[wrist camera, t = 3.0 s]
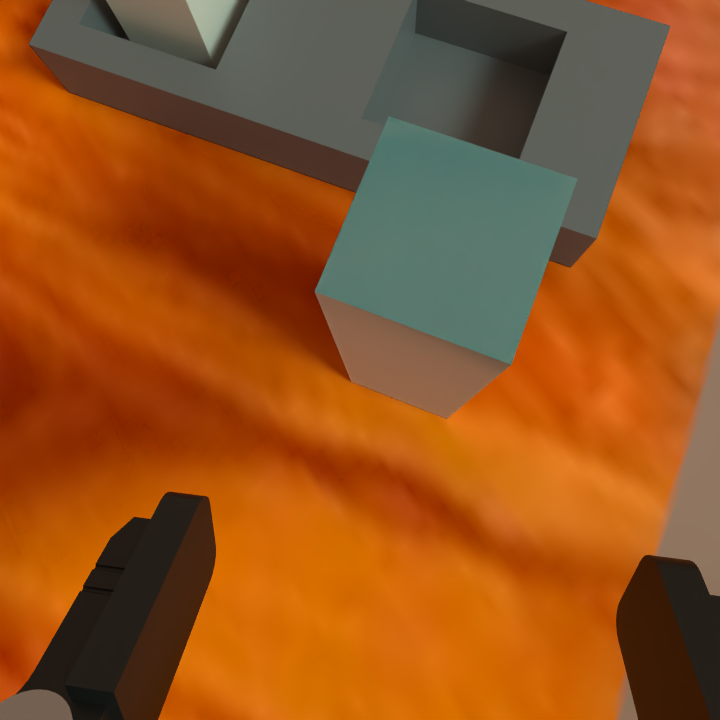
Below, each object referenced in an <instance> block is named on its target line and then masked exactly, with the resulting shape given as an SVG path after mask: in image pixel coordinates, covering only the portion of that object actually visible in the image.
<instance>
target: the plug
mask: <svg viewBox="0 0 720 720" xmlns="http://www.w3.org/2000/svg"><path fill="white" fill-rule="evenodd" d="M576 182H577V178H574V177H571V176H568V175H565V174H561V173H558V172H555V171H552V170H549V169H546V168H543V167H540V166H537V165H534V164H531V163H528V162H525V161H522V160H519V159H516V158H513V157H510V156H507V155H504V154H501V153H498V152H495V151H492V150H489V149H486V148H483V147H480V146H477V145H474V144H471V143H468V142H465V141H462V140H459V139H456V138H453V137H450V136H447V135H444V134H441V133H438V132H435V131H432V130H429V129H426V128H423V127H420V126H417V125H414V124H411V123H408V122H405V121H402V120H399V119H396V118H393V117H390V116H389V117H388V119H387V121H386V124H385V126H384V128H383V131H382V133H381V136H380V138H379V140H378V143H377V145H376V147H375V150H374V152H373V154H372V157H371V159H370V162H369V164H368V166H367V169H366V171H365V173H364V176H363V178H362V181H361V183H360V185H359V188H358V190H357V192H356V195H355V197H354V199H353V202H352V204H351V207H350V209H349V211H348V214H347V216H346V218H345V221H344V223H343V225H342V228H341V230H340V233H339V235H338V237H337V240H336V242H335V244H334V247H333V249H332V252H331V254H330V256H329V259H328V261H327V263H326V266H325V268H324V270H323V273H322V275H321V278H320V280H319V282H318V285H317V287H316V289H315V294H316V296H317V299H318V301H319V304H320V306H321V309H322V311H323V314H324V316H325V319H326V321H327V323H328V326H329V328H330V331H331V333H332V336H333V338H334V341H335V343H336V346H337V348H338V351H339V353H340V355H341V358H342V360H343V363H344V365H345V368H346V370H347V373H348V375H349V378H350V380H351V382H353V383H356V384H358V385H361V386H363V387H366V388H369V389H371V390H374V391H376V392H379V393H381V394H384V395H387V396H389V397H392V398H394V399H397V400H400V401H402V402H405V403H407V404H410V405H412V406H415V407H418V408H420V409H423V410H425V411H428V412H431V413H433V414H436V415H438V416H441V417H444V418H446V419H448V418H449V417H450V416H451V415H452V414H453V413H455V412H456V411H457V410H458V409H459V408H461V407H462V406H463V405H464V404H465V403H466V402H468V401H469V400H470V399H471V398H472V397H474V396H475V395H476V394H477V393H478V392H479V391H481V390H482V389H483V388H484V387H485V386H487V385H488V384H489V383H490V382H491V381H492V380H494V379H495V378H496V377H497V376H498V375H500V374H501V373H502V372H503V371H504V370H505V369H507V368H508V367H509V366H510V365H511V364H512V361H513V358H514V355H515V353H516V350H517V347H518V344H519V341H520V339H521V336H522V333H523V330H524V327H525V325H526V322H527V319H528V316H529V313H530V311H531V308H532V305H533V302H534V300H535V297H536V294H537V291H538V288H539V286H540V283H541V280H542V277H543V274H544V272H545V269H546V266H547V263H548V260H549V258H550V255H551V252H552V249H553V246H554V244H555V241H556V238H557V235H558V232H559V230H560V227H561V224H562V221H563V219H564V216H565V213H566V210H567V207H568V205H569V202H570V199H571V196H572V193H573V191H574V188H575V185H576Z"/></svg>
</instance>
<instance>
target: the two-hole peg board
mask: <svg viewBox="0 0 720 720" xmlns="http://www.w3.org/2000/svg"><path fill="white" fill-rule="evenodd" d="M669 28H670V26H669V25H666V24H662V23H659V22H656V21H652V20H649V19H646V18H642V17H639V16H636V15H632V14H629V13H625V12H622V11H619V10H615V9H612V8H609V7H605V6H602V5H599V4H595V3H592V2H589V1H585V0H52V2H51V4H50V6H49V8H48V9H47V11H46V13H45V15H44V17H43V19H42V21H41V22H40V24H39V26H38V28H37V30H36V32H35V33H34V35H33V37H32V39H31V41H30V43H29V46H30V47H31V48H32V49H33V50H34V51H35V53H36V54H37V55H38V56H39V57H40V59H41V60H42V61H43V62H44V63H45V64H46V66H47V67H48V68H49V69H50V70H51V72H52V73H53V74H54V75H55V76H56V78H57V79H58V80H59V81H60V82H61V83H62V85H63V86H64V87H65V88H66V89H67V91H68V92H70V93H73V94H75V95H78V96H81V97H84V98H87V99H90V100H93V101H96V102H98V103H101V104H104V105H107V106H110V107H113V108H116V109H118V110H121V111H124V112H127V113H130V114H133V115H136V116H139V117H141V118H144V119H147V120H150V121H153V122H156V123H159V124H161V125H164V126H167V127H170V128H173V129H176V130H179V131H181V132H184V133H187V134H190V135H193V136H196V137H199V138H202V139H204V140H207V141H210V142H213V143H216V144H219V145H222V146H224V147H227V148H230V149H233V150H236V151H239V152H242V153H245V154H247V155H250V156H253V157H256V158H259V159H262V160H265V161H267V162H270V163H273V164H276V165H279V166H282V167H285V168H288V169H290V170H293V171H296V172H299V173H302V174H305V175H308V176H310V177H313V178H316V179H319V180H322V181H325V182H328V183H330V184H333V185H336V186H339V187H342V188H345V189H348V190H351V191H353V192H357V190H358V188H359V185H360V183H361V181H362V178H363V176H364V173H365V171H366V169H367V166H368V164H369V162H370V159H371V157H372V154H373V152H374V150H375V147H376V145H377V143H378V140H379V138H380V136H381V133H382V131H383V128H384V126H385V124H386V121H387V119H388V117H389V116H390V117H393V118H396V119H399V120H402V121H405V122H408V123H411V124H414V125H417V126H420V127H423V128H426V129H429V130H432V131H435V132H438V133H441V134H444V135H447V136H450V137H453V138H456V139H459V140H462V141H465V142H468V143H471V144H474V145H477V146H480V147H483V148H486V149H489V150H492V151H495V152H498V153H501V154H504V155H507V156H510V157H513V158H516V159H519V160H522V161H525V162H528V163H531V164H534V165H537V166H540V167H543V168H546V169H549V170H552V171H555V172H558V173H561V174H565V175H568V176H571V177H574V178H577V182H576V185H575V188H574V191H573V193H572V196H571V199H570V202H569V205H568V207H567V210H566V213H565V216H564V219H563V221H562V224H561V227H560V230H559V232H558V235H557V238H556V241H555V244H554V246H553V249H552V252H551V255H550V258H549V260H551V261H554V262H557V263H560V264H563V265H565V266H568V267H571V266H572V265H573V264H574V263H575V262H576V261H577V260H578V259H579V258H580V256H581V255H582V254H583V253H584V252H585V251H586V250H587V249H588V248H589V246H590V245H591V244H592V243H593V242H594V241H595V240H596V239H597V236H598V233H599V230H600V227H601V225H602V222H603V219H604V216H605V213H606V210H607V207H608V204H609V201H610V199H611V196H612V193H613V190H614V187H615V184H616V181H617V178H618V176H619V173H620V170H621V167H622V164H623V161H624V158H625V155H626V152H627V150H628V147H629V144H630V141H631V138H632V135H633V132H634V129H635V126H636V124H637V121H638V118H639V115H640V112H641V109H642V106H643V103H644V100H645V98H646V95H647V92H648V89H649V86H650V83H651V80H652V77H653V74H654V72H655V69H656V66H657V63H658V60H659V57H660V54H661V51H662V48H663V46H664V43H665V40H666V37H667V34H668V31H669Z"/></svg>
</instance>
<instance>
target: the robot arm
mask: <svg viewBox="0 0 720 720" xmlns="http://www.w3.org/2000/svg"><path fill="white" fill-rule="evenodd" d="M215 557H216V544H215V536H214V529H213V522H212V515H211V507H210V501H209V498H208V497H206V496H199V495H191V494H183V493H176V492H167V493H166V494H165V495H164V496H163V497H162V499H161V501H160V503H159V505H158V506H157V508H156V510H155V512H154V514H153V516H152V518H151V519H146V518H139V517H134V518H133V519H131V520H130V521H129V522H128V523H127V524H126V525H125V526H124V527H122V528H121V529H120V530H119V531H118V532H117V533H116V534H115V535H113V536H112V537H111V538H110V540H109V542H108V543H107V545H106V547H105V549H104V550H103V552H102V554H101V556H100V557H99V559H98V561H97V563H96V567H95V569H93V570H92V571H91V573H90V575H89V576H88V578H87V580H86V582H85V583H84V585H83V590H82V591H80V592H79V594H78V596H77V597H76V599H75V601H74V603H73V604H72V606H71V608H70V610H69V611H68V613H67V615H66V616H65V618H64V620H63V622H62V623H61V625H60V627H59V629H58V630H57V632H56V634H55V636H54V637H53V639H52V641H51V643H50V644H49V646H48V648H47V650H46V651H45V653H44V655H43V656H42V658H41V660H40V662H39V663H38V665H37V667H36V669H35V670H34V672H33V674H32V675H31V677H30V678H29V680H28V681H27V682H26V683H25V685H24V686H23V687H22V688H21V689H20V690H19V691H18V692H17V693H16V694H15V695H13V696H11V697H10V698H8V699H6V700H4V701H2V702H1V703H0V720H158V718H159V715H160V713H161V710H162V707H163V705H164V702H165V700H166V697H167V694H168V692H169V689H170V686H171V684H172V681H173V678H174V676H175V673H176V670H177V668H178V665H179V662H180V660H181V657H182V654H183V652H184V649H185V646H186V644H187V641H188V638H189V636H190V633H191V630H192V628H193V625H194V623H195V620H196V617H197V615H198V612H199V609H200V607H201V604H202V601H203V599H204V596H205V593H206V591H207V588H208V585H209V583H210V580H211V577H212V573H213V569H214V564H215ZM616 627H617V636H618V641H619V645H620V649H621V653H622V656H623V660H624V664H625V668H626V672H627V676H628V680H629V684H630V688H631V692H632V696H633V700H634V704H635V708H636V712H637V716H638V720H720V596H714V595H710V594H709V592H708V590H707V587H706V585H705V582H704V580H703V577H702V575H701V573H700V571H699V568H698V567H697V565H696V564H695V563H694V562H692V561H690V560H683V559H675V558H667V557H659V556H652V555H646V556H644V557H643V558H642V559H641V561H640V563H639V565H638V567H637V569H636V571H635V573H634V575H633V577H632V579H631V581H630V583H629V584H628V586H627V588H626V590H625V592H624V594H623V596H622V598H621V600H620V602H619V605H618V609H617V616H616Z"/></svg>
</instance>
